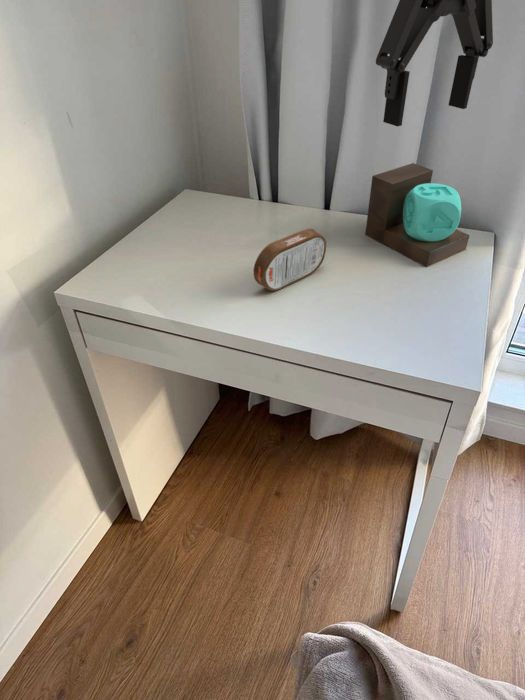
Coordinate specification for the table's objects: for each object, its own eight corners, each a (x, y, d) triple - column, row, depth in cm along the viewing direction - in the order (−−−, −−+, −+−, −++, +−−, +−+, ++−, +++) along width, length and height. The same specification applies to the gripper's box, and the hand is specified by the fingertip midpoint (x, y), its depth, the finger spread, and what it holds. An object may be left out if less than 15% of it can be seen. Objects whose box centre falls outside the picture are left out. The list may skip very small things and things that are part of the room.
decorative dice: (455, 241, 91) (465, 199, 86) (412, 243, 91) (420, 201, 86) (440, 221, 97) (449, 181, 92) (400, 224, 97) (406, 183, 92)
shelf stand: (465, 249, 95) (482, 188, 87) (426, 267, 90) (440, 204, 82) (403, 220, 105) (413, 162, 97) (365, 234, 100) (372, 175, 93)
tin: (315, 262, 92) (318, 220, 87) (327, 269, 90) (331, 226, 85) (252, 292, 85) (251, 248, 80) (264, 300, 83) (263, 255, 78)
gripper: (499, -82, 65) (461, 95, 79) (358, -80, 54) (342, 125, 68) (553, -85, 60) (502, 105, 74) (410, -83, 50) (382, 138, 63)
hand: (426, 115), depth 71 cm, fingers open, 13 cm apart
